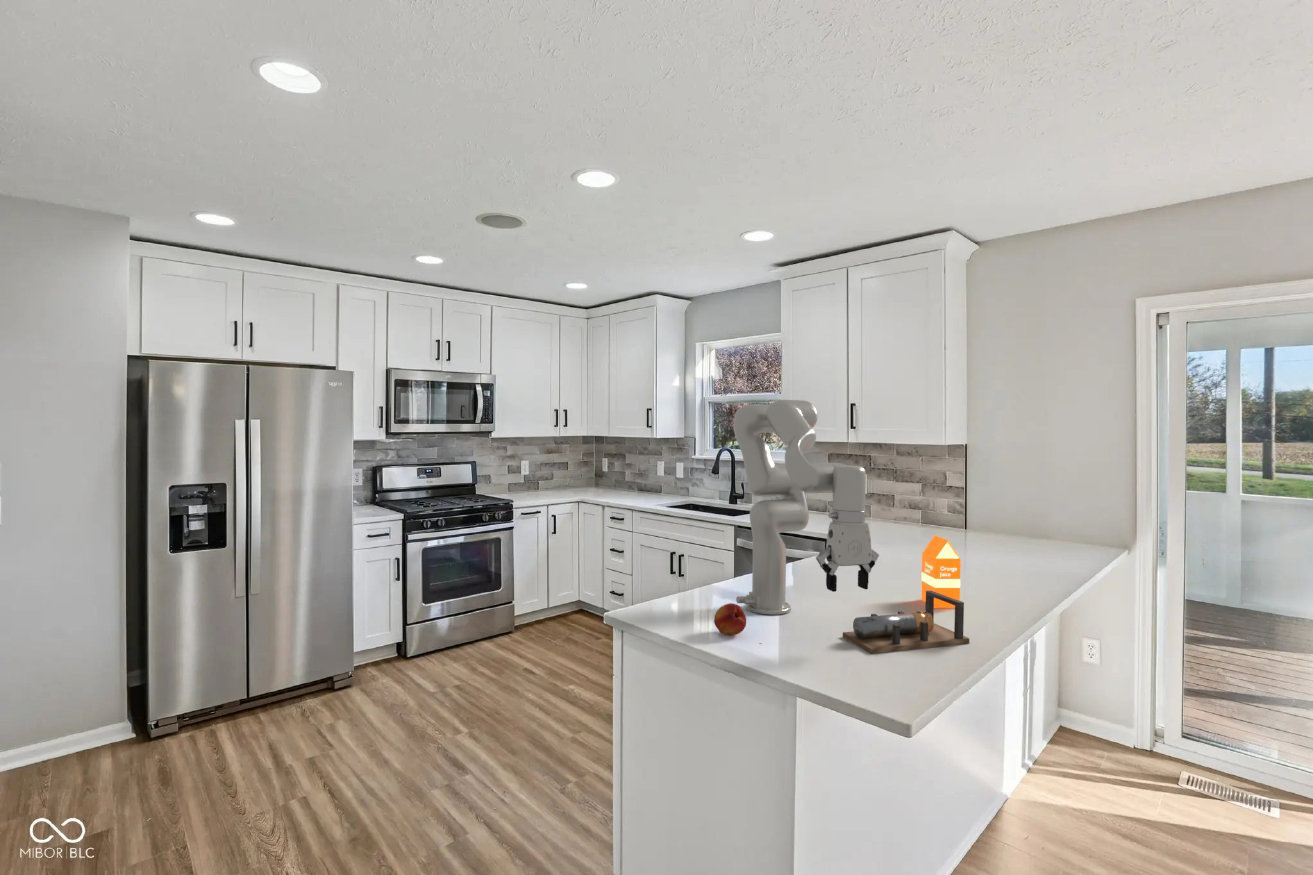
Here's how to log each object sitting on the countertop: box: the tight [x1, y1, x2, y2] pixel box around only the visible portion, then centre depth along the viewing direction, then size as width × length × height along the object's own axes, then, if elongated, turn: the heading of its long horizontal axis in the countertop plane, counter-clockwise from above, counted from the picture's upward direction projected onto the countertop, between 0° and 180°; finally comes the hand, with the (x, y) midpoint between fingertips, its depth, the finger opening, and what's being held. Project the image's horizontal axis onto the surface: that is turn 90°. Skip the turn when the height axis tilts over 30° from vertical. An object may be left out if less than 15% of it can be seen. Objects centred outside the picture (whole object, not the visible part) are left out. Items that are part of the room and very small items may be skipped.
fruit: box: [713, 602, 747, 636], centre depth 160 cm, size 8×8×8 cm
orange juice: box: [920, 534, 962, 609], centre depth 190 cm, size 8×9×20 cm
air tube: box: [852, 611, 935, 639], centre depth 158 cm, size 20×5×5 cm, turn 107°
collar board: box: [842, 590, 970, 655], centre depth 157 cm, size 28×12×10 cm, turn 107°
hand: (847, 588), depth 152 cm, fingers open, 8 cm apart
